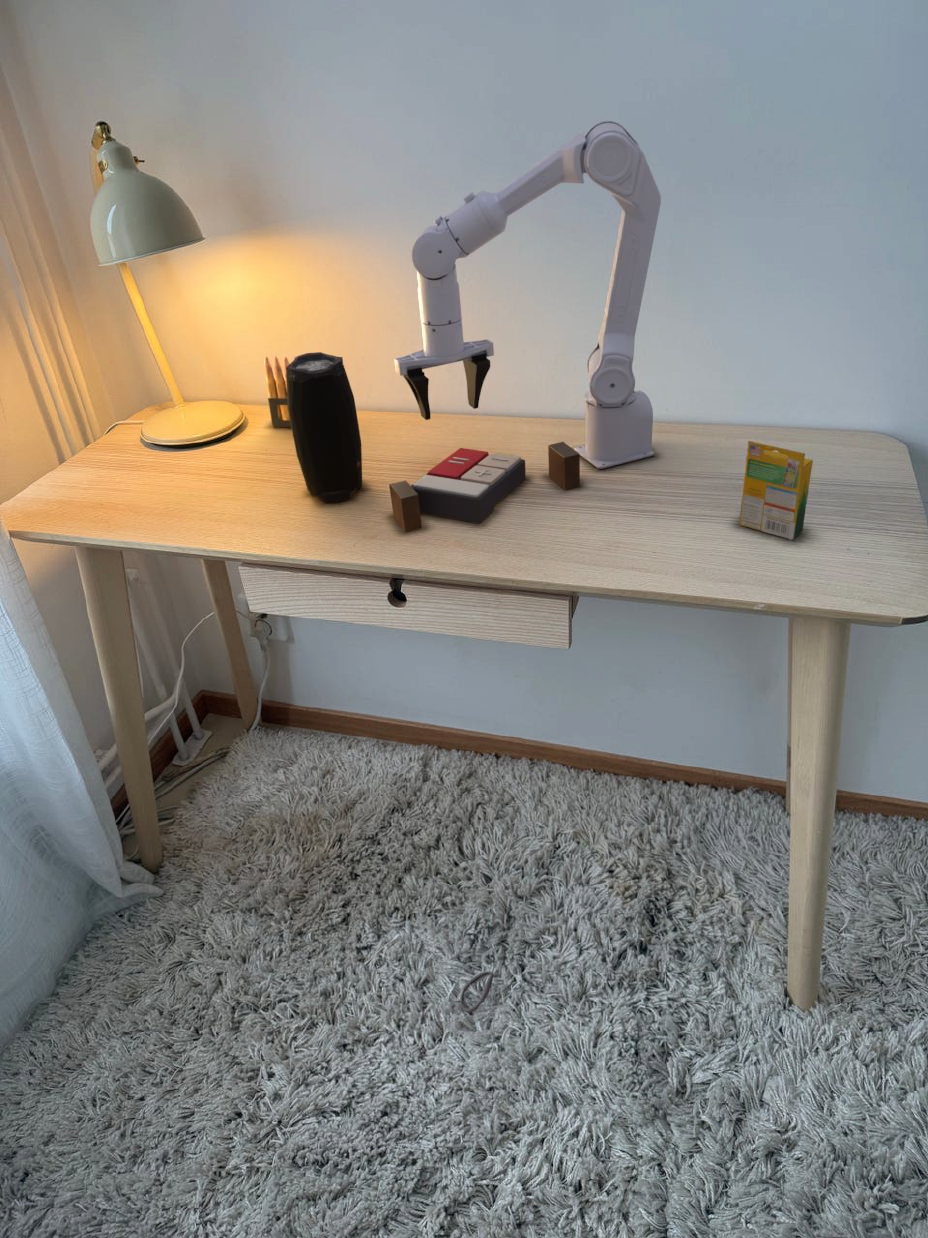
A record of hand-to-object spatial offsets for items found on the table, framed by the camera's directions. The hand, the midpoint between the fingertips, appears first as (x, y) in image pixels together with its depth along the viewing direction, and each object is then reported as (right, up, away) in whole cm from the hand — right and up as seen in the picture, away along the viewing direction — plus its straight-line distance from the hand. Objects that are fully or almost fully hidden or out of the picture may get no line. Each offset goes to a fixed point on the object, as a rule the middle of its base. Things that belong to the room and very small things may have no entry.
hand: (449, 411), depth 136 cm
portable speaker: (-17, -12, -1) cm, 21 cm away
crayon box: (+41, -19, -20) cm, 49 cm away
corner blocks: (+5, -14, -8) cm, 17 cm away
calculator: (+3, -13, -5) cm, 15 cm away
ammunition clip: (-26, +2, +21) cm, 33 cm away
